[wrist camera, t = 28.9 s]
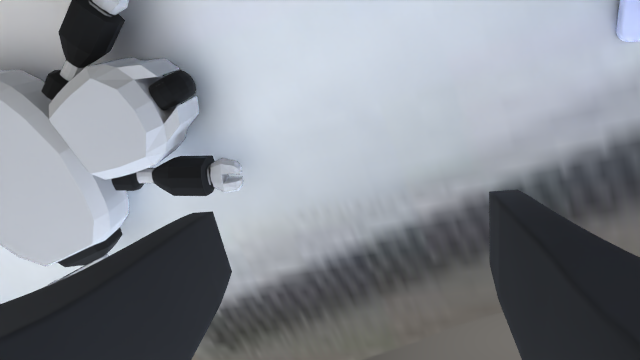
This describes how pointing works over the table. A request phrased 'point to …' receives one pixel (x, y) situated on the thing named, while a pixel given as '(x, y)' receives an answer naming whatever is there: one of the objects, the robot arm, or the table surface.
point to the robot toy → (93, 143)
